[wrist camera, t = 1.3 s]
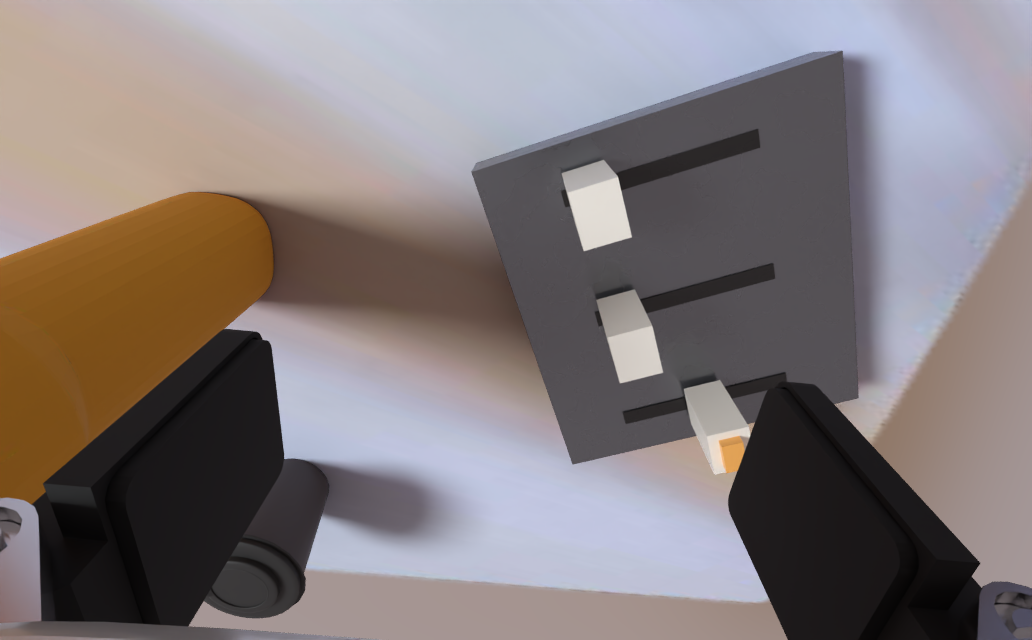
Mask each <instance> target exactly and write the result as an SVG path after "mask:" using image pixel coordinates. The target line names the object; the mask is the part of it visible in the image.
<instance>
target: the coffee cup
mask: <svg viewBox="0 0 1032 640" xmlns="http://www.w3.org/2000/svg"><path fill="white" fill-rule="evenodd" d="M328 493H329V484H328V481H327V478H326V477H325V475H324V474H323V473H322V471H321V470H319V469H318V468H317V467H315V466H314V465H313V464H310V463H308V462H306V461H303V460H298V459H284V463H283V468H282V471H281V473H280V475H279V477H278V479H277V481H276V482H275V484H274V485H273V487H272V489H271V490H270V492H269V494H268V495H267V497H266V499H265V500H264V502H263V504H262V505H261V507H260V509H259V510H258V512H257V514H256V515H255V517H254V518H253V520H252V522H251V523H250V525H249V527H248V528H247V530H246V532H245V533H244V535H243V537H242V538H241V540H240V542H239V543H238V545H237V547H236V548H235V550H234V551H233V553H232V555H231V556H230V558H229V560H228V561H227V563H226V565H225V566H224V568H223V570H222V571H221V573H220V575H219V576H218V578H217V580H216V581H215V583H214V584H213V586H212V588H211V589H210V591H209V593H208V594H207V596H206V598H205V599H204V601H205V602H206V603H208V604H209V605H211V606H213V607H214V608H216V609H218V610H220V611H223V612H225V613H228V614H232V615H235V616H239V617H246V618H266V617H272V616H276V615H278V614H281V613H283V612H285V611H286V610H288V609H289V608H290V607H291V606H293V605H294V604H296V603H297V602H298V601H299V600H300V598H301V597H302V595H303V593H304V591H305V580H306V578H305V576H304V571H305V568H306V565H307V561H308V558H309V555H310V552H311V548H312V545H313V542H314V539H315V535H316V532H317V529H318V525H319V522H320V519H321V516H322V512H323V509H324V506H325V503H326V499H327V496H328Z"/></svg>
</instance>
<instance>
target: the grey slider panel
mask: <svg viewBox="0 0 1032 640" xmlns="http://www.w3.org/2000/svg"><path fill="white" fill-rule="evenodd" d="M602 160H604V161H605V162H606V163H607V164H608V165H609V167H610V168H611V169H612V170H613V171H614V173H615V174H616V175H617V176H618V179H619V183H620V188H621V192H622V196H623V201H624V205H625V209H626V214H627V218H628V222H629V227H630V231H631V235H632V237H631V238H628V239H624V240H621V241H617V242H614V243H611V244H607V245H604V246H600V247H597V248H594V249H590V250H587V251H584V250H583V247H582V244H581V241H580V237H579V234H578V231H577V228H576V224H575V221H574V217H573V214H572V210H571V206H570V203H569V199H568V195H567V192H566V188H565V185H564V181H563V177H562V174H561V173H564V172H567V171H570V170H573V169H576V168H580V167H583V166H586V165H589V164H592V163H595V162H598V161H602ZM472 175H473V178H474V181H475V184H476V186H477V189H478V192H479V195H480V198H481V201H482V204H483V207H484V210H485V212H486V215H487V218H488V221H489V224H490V227H491V230H492V233H493V236H494V238H495V241H496V244H497V247H498V250H499V253H500V256H501V259H502V262H503V264H504V267H505V270H506V273H507V276H508V279H509V282H510V285H511V288H512V290H513V293H514V296H515V299H516V302H517V305H518V308H519V311H520V314H521V316H522V319H523V322H524V325H525V328H526V331H527V334H528V337H529V340H530V342H531V345H532V348H533V351H534V354H535V357H536V360H537V363H538V366H539V368H540V371H541V374H542V377H543V380H544V383H545V386H546V389H547V392H548V394H549V397H550V400H551V403H552V406H553V409H554V412H555V415H556V418H557V420H558V423H559V426H560V429H561V432H562V435H563V438H564V441H565V444H566V446H567V449H568V452H569V455H570V458H571V461H572V464H577V463H581V462H586V461H590V460H594V459H598V458H603V457H607V456H611V455H616V454H620V453H624V452H629V451H633V450H637V449H642V448H646V447H650V446H654V445H659V444H663V443H667V442H672V441H676V440H680V439H685V438H689V437H693V436H696V433H695V431H694V429H693V427H692V425H691V421H690V416H689V412H688V407H687V402H686V398H685V393H684V389H685V388H689V387H693V386H697V385H701V384H705V383H709V382H714V381H718V380H720V381H721V382H722V384H723V386H724V387H725V389H726V390H727V392H728V394H729V395H730V397H731V399H732V400H733V402H734V403H735V405H736V407H737V408H738V410H739V411H740V413H741V415H742V416H743V418H744V420H745V421H746V423H747V424H749V423H754V422H755V421H756V419H757V416H758V413H759V410H760V408H761V405H762V402H763V399H764V397H765V394H766V392H767V391H768V390H769V389H770V388H775V387H776V386H777V384H778V383H780V382H782V381H785V382H796V383H807V384H814V385H816V386H817V387H818V388H819V389H820V390H821V391H822V392H823V393H824V394H825V395H826V396H827V397H828V398H829V399H830V401H831V402H832V403H833V404H835V403H840V402H844V401H848V400H853V399H857V398H858V376H857V354H856V333H855V311H854V289H853V267H852V246H851V224H850V202H849V181H848V159H847V137H846V116H845V94H844V72H843V51H828V52H813V53H810V54H807V55H804V56H801V57H798V58H795V59H791V60H788V61H785V62H782V63H779V64H776V65H773V66H770V67H767V68H764V69H761V70H758V71H755V72H752V73H749V74H746V75H743V76H740V77H737V78H734V79H731V80H728V81H725V82H722V83H719V84H715V85H712V86H709V87H706V88H703V89H700V90H697V91H694V92H691V93H688V94H685V95H682V96H679V97H676V98H673V99H670V100H667V101H664V102H661V103H658V104H655V105H652V106H649V107H646V108H643V109H639V110H636V111H633V112H630V113H627V114H624V115H621V116H618V117H615V118H612V119H609V120H606V121H603V122H600V123H597V124H594V125H591V126H588V127H585V128H582V129H579V130H576V131H573V132H570V133H567V134H563V135H560V136H557V137H554V138H551V139H548V140H545V141H542V142H539V143H536V144H533V145H530V146H527V147H524V148H521V149H518V150H515V151H512V152H509V153H506V154H503V155H500V156H497V157H494V158H491V159H487V160H484V161H481V162H478V163H476V164H475V166H474V168H473V170H472ZM634 289H635V291H636V293H637V295H638V297H639V299H640V301H641V303H642V305H643V307H644V310H645V312H646V314H647V316H648V318H649V320H650V322H651V324H652V326H653V331H654V335H655V339H656V344H657V348H658V353H659V357H660V361H661V366H662V370H663V373H660V374H656V375H652V376H648V377H644V378H640V379H636V380H632V381H628V382H624V383H620V382H619V378H618V375H617V372H616V368H615V365H614V361H613V358H612V355H611V351H610V348H609V344H608V341H607V337H606V334H605V330H604V326H603V323H602V319H601V316H600V312H599V308H598V305H597V301H596V300H598V299H601V298H605V297H609V296H612V295H616V294H619V293H623V292H627V291H630V290H634Z"/></svg>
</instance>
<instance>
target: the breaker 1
mask: <svg viewBox="0 0 1032 640" xmlns="http://www.w3.org/2000/svg"><path fill="white" fill-rule="evenodd" d="M561 174H562V177H563V181H564V185H565V188H566V192H567V195H568V199H569V203H570V206H571V210H572V214H573V217H574V221H575V224H576V228H577V231H578V234H579V237H580V241H581V244H582V247H583V250H584V251H587V250H590V249H594V248H597V247H600V246H604V245H607V244H611V243H614V242H617V241H621V240H624V239H628V238H631V237H632V235H631V231H630V227H629V222H628V218H627V214H626V209H625V205H624V201H623V196H622V192H621V188H620V183H619V179H618V176H617V175H616V174H615V173H614V171H613V170H612V169H611V168H610V167H609V165H608V164H607V163H606V162H605V161H604V160H602V161H598V162H595V163H592V164H589V165H586V166H583V167H580V168H576V169H573V170H570V171H567V172H564V173H561Z"/></svg>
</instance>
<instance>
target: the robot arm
mask: <svg viewBox="0 0 1032 640" xmlns="http://www.w3.org/2000/svg"><path fill="white" fill-rule="evenodd" d="M283 463H284V450H283V441H282V433H281V424H280V416H279V407H278V399H277V390H276V382H275V373H274V364H273V356H272V348H271V345H270V343H269V342H268V341H266V340H262V337H261V335H260V334H259V333H258V332H253V331H242V330H232V329H223V330H222V331H220V332H219V333H218V334H216V335H215V336H214V337H213V338H212V339H211V340H209V341H208V342H207V343H206V344H205V345H204V346H202V347H201V348H200V349H199V350H198V351H197V352H195V353H194V354H193V355H192V356H191V357H190V358H188V359H187V360H186V361H185V362H184V363H183V364H181V365H180V366H179V367H178V368H177V369H176V370H174V371H173V372H172V373H171V374H170V375H169V376H167V377H166V378H165V379H164V380H163V381H162V382H160V383H159V384H158V385H157V386H156V387H155V388H153V389H152V390H151V391H150V392H149V393H148V394H146V395H145V396H144V397H143V398H142V399H141V400H139V401H138V402H137V403H136V404H135V405H134V406H132V407H131V408H130V409H129V410H128V411H127V412H125V413H124V414H123V415H122V416H121V417H120V418H118V419H117V420H116V421H115V422H114V423H113V424H111V425H110V426H109V427H108V428H107V429H106V430H104V431H103V432H102V433H101V434H100V435H99V436H97V437H96V438H95V439H94V440H93V441H92V442H90V443H89V444H88V445H87V446H86V447H85V448H83V449H82V450H81V451H80V452H79V453H78V454H76V455H75V456H74V457H73V458H72V459H71V460H69V461H68V462H67V463H66V464H65V465H64V466H62V467H61V468H60V469H59V470H58V471H57V472H55V473H54V474H53V475H52V476H51V477H50V478H48V479H47V480H46V481H45V482H44V483H43V485H44V488H45V491H46V492H45V493H44V494H43V495H42V496H41V497H39V498H38V499H37V500H36V501H35V502H34V503H33V504H29V503H28V502H26V501H24V500H20V499H13V498H0V640H377V639H363V638H350V637H335V636H322V635H308V634H294V633H281V632H267V631H253V630H239V629H224V628H206V627H188V626H189V624H190V622H191V621H192V619H193V618H194V616H195V614H196V612H197V611H198V609H199V608H200V606H201V604H202V603H203V601H204V599H205V598H206V596H207V594H208V593H209V591H210V589H211V588H212V586H213V584H214V583H215V581H216V580H217V578H218V576H219V575H220V573H221V571H222V570H223V568H224V566H225V565H226V563H227V561H228V560H229V558H230V556H231V555H232V553H233V551H234V550H235V548H236V547H237V545H238V543H239V542H240V540H241V538H242V537H243V535H244V533H245V532H246V530H247V528H248V527H249V525H250V523H251V522H252V520H253V518H254V517H255V515H256V514H257V512H258V510H259V509H260V507H261V505H262V504H263V502H264V500H265V499H266V497H267V495H268V494H269V492H270V490H271V489H272V487H273V485H274V484H275V482H276V481H277V479H278V477H279V475H280V473H281V471H282V468H283ZM728 506H729V512H730V515H731V517H732V519H733V521H734V523H735V526H736V528H737V530H738V532H739V534H740V536H741V539H742V541H743V543H744V545H745V547H746V550H747V552H748V554H749V556H750V558H751V560H752V563H753V565H754V567H755V569H756V571H757V573H758V576H759V578H760V580H761V582H762V584H763V586H764V589H765V591H766V593H767V595H768V597H769V599H770V602H771V604H772V606H773V608H774V610H775V612H776V614H777V617H778V619H779V621H780V623H781V625H782V627H783V630H784V632H785V634H786V636H787V638H788V640H1032V588H1029V587H1026V586H1022V585H1018V584H1015V583H1010V582H991V583H989V584H987V585H985V586H983V587H982V588H981V587H980V586H979V585H978V583H977V582H976V581H975V580H974V579H973V578H972V577H971V576H972V575H973V573H974V572H975V570H976V569H977V567H978V566H979V564H980V563H979V561H978V560H977V559H976V558H975V557H974V556H973V555H972V554H971V552H970V551H969V550H968V549H967V548H966V547H965V546H964V545H963V544H962V543H961V542H960V540H959V539H958V538H957V537H956V536H955V535H954V534H953V533H952V532H951V531H950V530H949V529H948V528H947V526H946V525H945V524H944V523H943V522H942V521H941V520H940V519H939V518H938V517H937V516H936V514H935V513H934V512H933V511H932V510H931V509H930V508H929V507H928V506H927V505H926V504H925V503H924V501H923V500H922V499H921V498H920V497H919V496H918V495H917V494H916V493H915V492H914V491H913V490H912V488H911V487H910V486H909V485H908V484H907V483H906V482H905V481H904V480H903V479H902V478H901V477H900V475H899V474H898V473H897V472H896V471H895V470H894V469H893V468H892V467H891V466H890V465H889V463H887V461H886V460H885V459H884V458H883V457H882V456H881V455H880V454H879V453H878V452H877V450H876V449H875V448H874V447H873V446H872V445H871V444H870V443H869V442H868V441H867V440H866V439H865V437H864V436H863V435H862V434H861V433H860V432H859V431H858V430H857V429H856V428H855V427H854V426H853V424H852V423H851V422H850V421H849V420H848V419H847V418H846V417H845V416H844V415H843V414H842V413H841V411H840V410H839V409H838V408H837V407H836V406H835V405H834V404H833V403H832V402H831V401H830V399H829V398H828V397H827V396H826V395H825V394H824V393H823V392H822V391H821V390H820V389H819V388H818V387H817V386H816V385H814V384H807V383H796V382H785V381H782V382H780V383H778V384H777V386H776V387H775V388H770V389H769V390H768V391H767V392H766V394H765V397H764V399H763V402H762V405H761V408H760V410H759V413H758V416H757V419H756V421H755V424H754V427H753V430H752V433H751V435H750V438H749V441H748V444H747V446H746V449H745V452H744V455H743V457H742V460H741V463H740V466H739V469H738V471H737V474H736V477H735V480H734V482H733V485H732V488H731V491H730V494H729V499H728Z"/></svg>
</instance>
